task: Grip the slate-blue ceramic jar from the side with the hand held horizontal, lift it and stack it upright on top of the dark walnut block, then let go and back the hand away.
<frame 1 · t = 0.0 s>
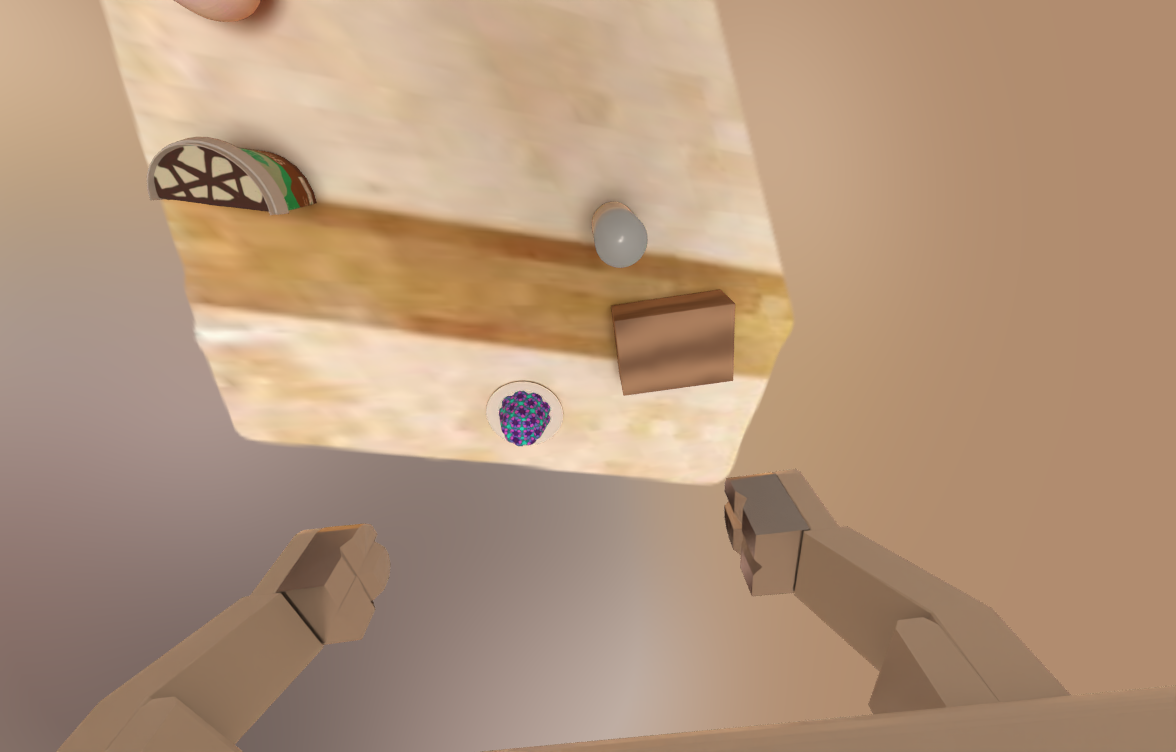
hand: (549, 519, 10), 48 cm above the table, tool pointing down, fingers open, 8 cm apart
pudding: (525, 411, 66), on the table
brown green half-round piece: (271, 169, 49), on the table
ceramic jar: (613, 224, 52), on the table
walnut block: (667, 334, 59), on the table
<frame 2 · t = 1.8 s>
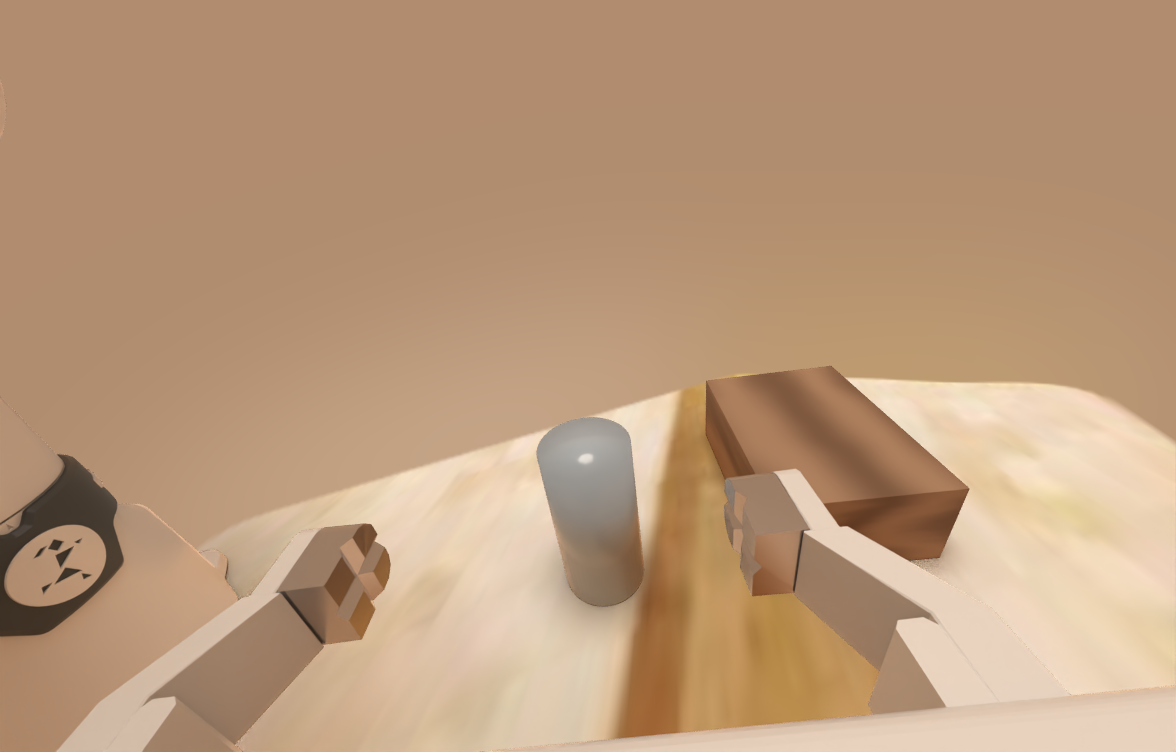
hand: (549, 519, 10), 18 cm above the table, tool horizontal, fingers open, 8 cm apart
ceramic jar: (604, 568, 29), on the table
walnut block: (798, 482, 33), on the table
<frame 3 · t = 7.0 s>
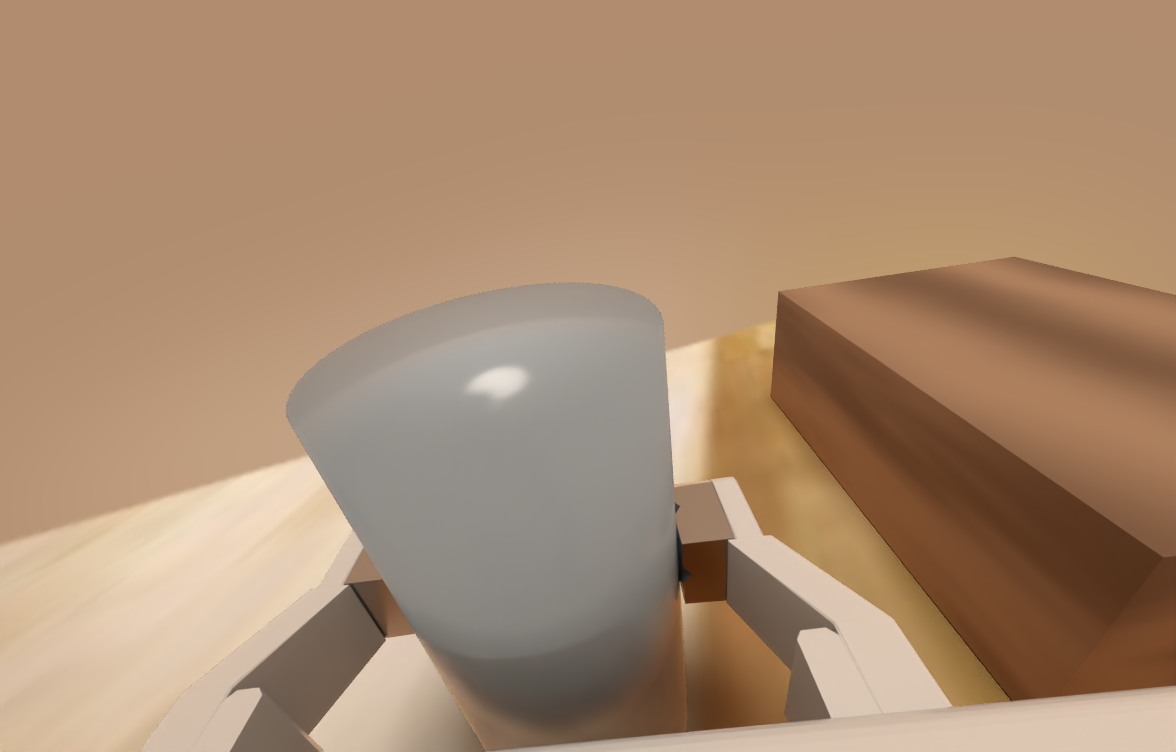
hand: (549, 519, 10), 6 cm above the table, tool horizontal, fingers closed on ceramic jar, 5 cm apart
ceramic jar: (588, 696, 12), on the table, touching gripper
walnut block: (993, 477, 16), on the table
when the fingers open (13 cm above the table, at t = 12.8 s): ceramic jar stays where it is, resting on walnut block.
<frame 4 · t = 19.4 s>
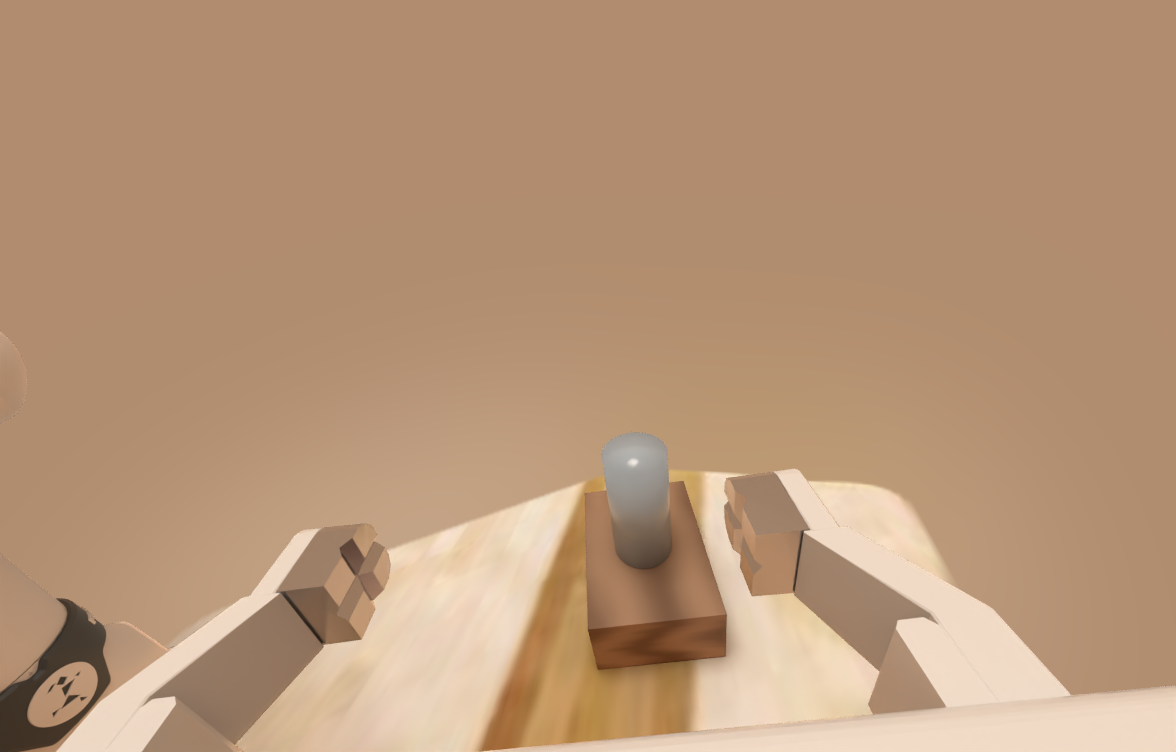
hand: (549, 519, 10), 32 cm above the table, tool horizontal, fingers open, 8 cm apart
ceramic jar: (642, 543, 39), point 6 cm above the table, touching walnut block
walnut block: (647, 583, 42), on the table
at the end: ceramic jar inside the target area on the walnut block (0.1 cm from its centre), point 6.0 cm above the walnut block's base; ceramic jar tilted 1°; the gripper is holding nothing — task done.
